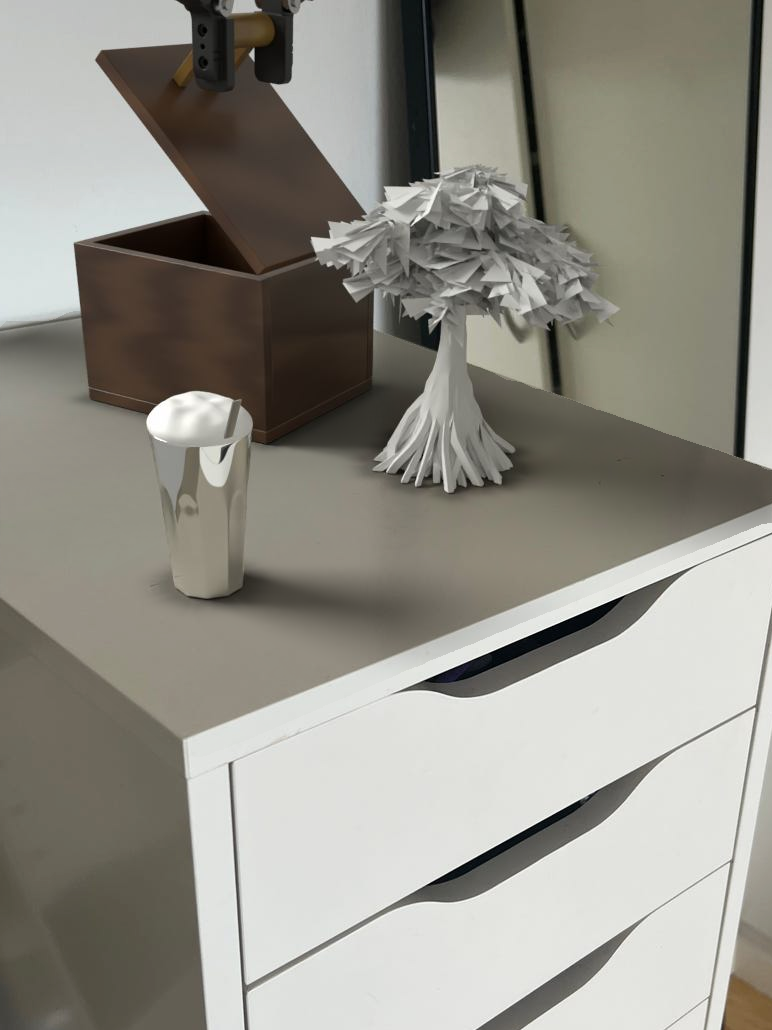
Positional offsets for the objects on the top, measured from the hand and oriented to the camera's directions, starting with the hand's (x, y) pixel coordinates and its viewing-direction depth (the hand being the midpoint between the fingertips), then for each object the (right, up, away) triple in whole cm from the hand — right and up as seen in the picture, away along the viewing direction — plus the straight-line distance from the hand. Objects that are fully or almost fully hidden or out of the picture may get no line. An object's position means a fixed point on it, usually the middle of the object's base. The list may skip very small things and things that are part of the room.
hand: (244, 84), depth 70 cm
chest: (-3, -16, +10) cm, 19 cm away
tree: (+12, -22, +2) cm, 25 cm away
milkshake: (+1, -30, -13) cm, 32 cm away
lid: (0, -3, +2) cm, 4 cm away
